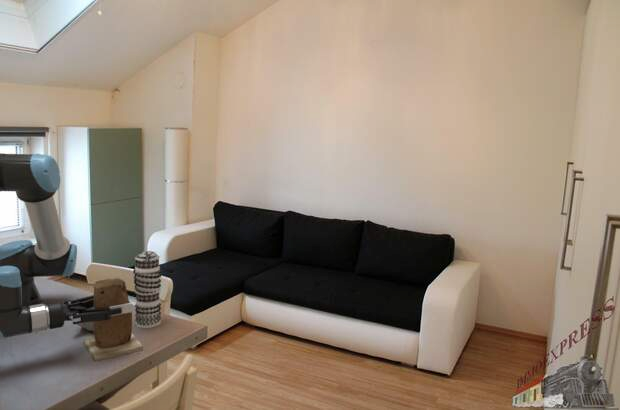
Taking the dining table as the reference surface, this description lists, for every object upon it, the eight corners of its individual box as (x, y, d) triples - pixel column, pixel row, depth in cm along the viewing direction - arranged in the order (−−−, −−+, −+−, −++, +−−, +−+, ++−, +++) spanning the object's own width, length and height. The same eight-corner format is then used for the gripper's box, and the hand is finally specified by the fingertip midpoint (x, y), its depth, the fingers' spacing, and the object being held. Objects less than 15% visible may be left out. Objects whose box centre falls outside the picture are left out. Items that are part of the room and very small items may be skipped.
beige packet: (83, 342, 163) (83, 338, 163) (129, 333, 171) (129, 329, 171) (95, 360, 152) (95, 356, 152) (143, 349, 160) (143, 345, 160)
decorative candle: (146, 330, 173) (145, 258, 169) (128, 323, 178) (126, 253, 174) (167, 322, 181) (167, 252, 177) (149, 315, 186) (148, 248, 181)
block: (95, 350, 155) (94, 287, 151) (92, 339, 162) (91, 278, 158) (133, 344, 160) (133, 283, 156) (129, 334, 167) (129, 275, 163)
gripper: (41, 316, 158) (117, 302, 171) (54, 343, 141) (138, 326, 154) (39, 292, 157) (117, 280, 170) (53, 316, 139) (138, 301, 152)
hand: (127, 302), depth 162 cm, fingers open, 9 cm apart
